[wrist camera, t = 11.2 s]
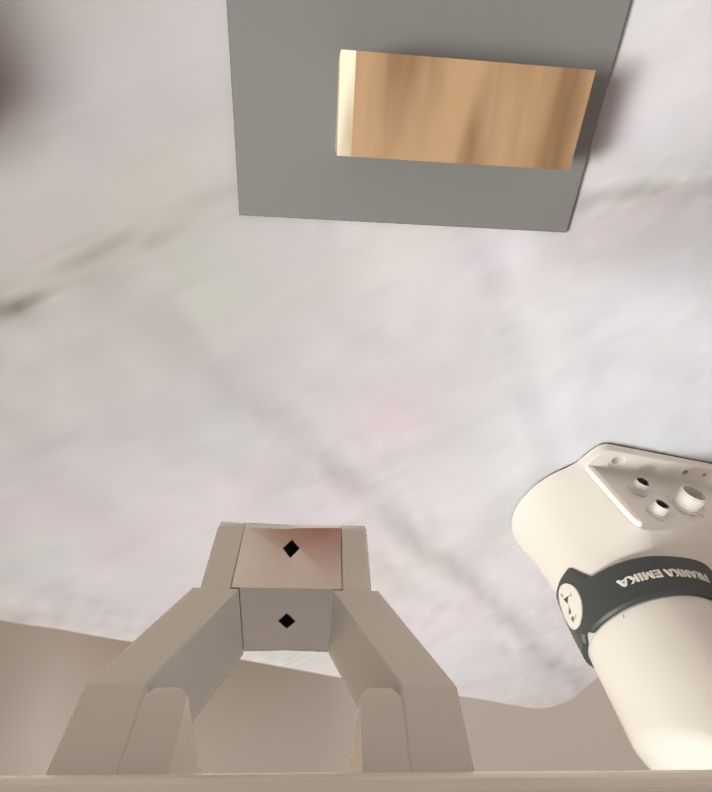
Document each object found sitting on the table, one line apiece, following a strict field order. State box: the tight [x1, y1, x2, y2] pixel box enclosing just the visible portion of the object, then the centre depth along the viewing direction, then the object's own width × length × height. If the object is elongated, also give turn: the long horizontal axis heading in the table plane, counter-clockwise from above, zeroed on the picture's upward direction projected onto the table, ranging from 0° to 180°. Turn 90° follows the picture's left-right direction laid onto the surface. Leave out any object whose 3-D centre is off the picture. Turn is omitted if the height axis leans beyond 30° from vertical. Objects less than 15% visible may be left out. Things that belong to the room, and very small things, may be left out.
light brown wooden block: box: [335, 49, 596, 170], centre depth 29 cm, size 5×5×14 cm
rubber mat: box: [227, 0, 631, 232], centre depth 31 cm, size 24×14×1 cm, turn 86°
